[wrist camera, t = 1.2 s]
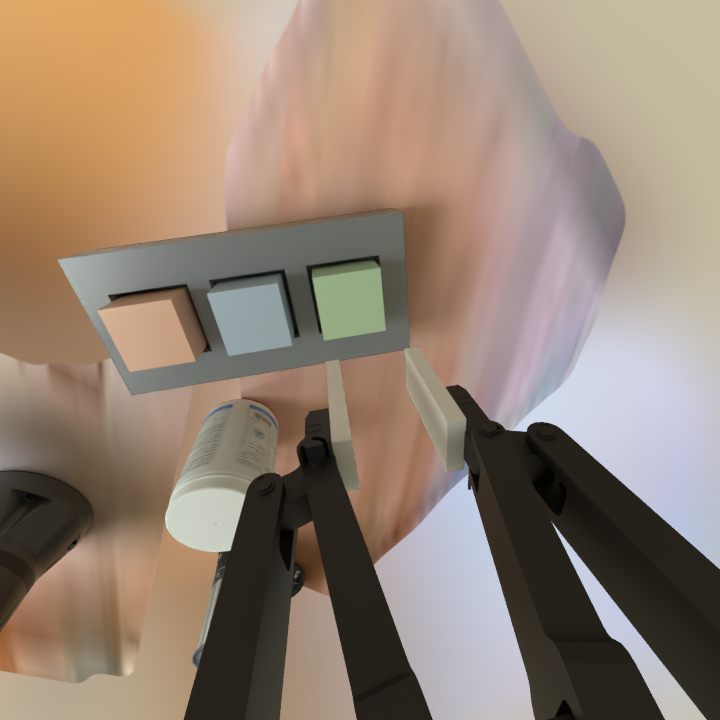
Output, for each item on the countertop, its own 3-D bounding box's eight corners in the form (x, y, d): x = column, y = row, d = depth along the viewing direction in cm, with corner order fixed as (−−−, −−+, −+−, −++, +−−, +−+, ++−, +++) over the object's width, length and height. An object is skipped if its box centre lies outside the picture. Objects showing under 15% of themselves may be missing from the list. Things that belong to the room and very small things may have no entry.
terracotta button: (149, 352, 33) (129, 372, 30) (121, 296, 30) (96, 310, 27) (208, 343, 34) (195, 361, 30) (186, 286, 31) (170, 299, 27)
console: (152, 371, 39) (131, 395, 34) (92, 250, 32) (57, 259, 27) (399, 331, 40) (409, 349, 36) (391, 208, 34) (403, 211, 29)
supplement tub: (211, 453, 45) (170, 558, 32) (200, 396, 41) (149, 491, 28) (282, 450, 47) (270, 550, 34) (279, 395, 42) (265, 485, 29)
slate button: (237, 338, 34) (228, 356, 30) (218, 282, 31) (206, 293, 27) (294, 329, 34) (292, 345, 31) (281, 272, 31) (277, 283, 28)
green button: (322, 325, 34) (324, 340, 31) (312, 268, 32) (312, 278, 28) (378, 316, 35) (385, 330, 31) (372, 259, 32) (380, 267, 28)
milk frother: (223, 530, 53) (193, 641, 40) (317, 537, 57) (319, 640, 44) (213, 581, 59) (185, 693, 46) (299, 584, 63) (296, 688, 50)
